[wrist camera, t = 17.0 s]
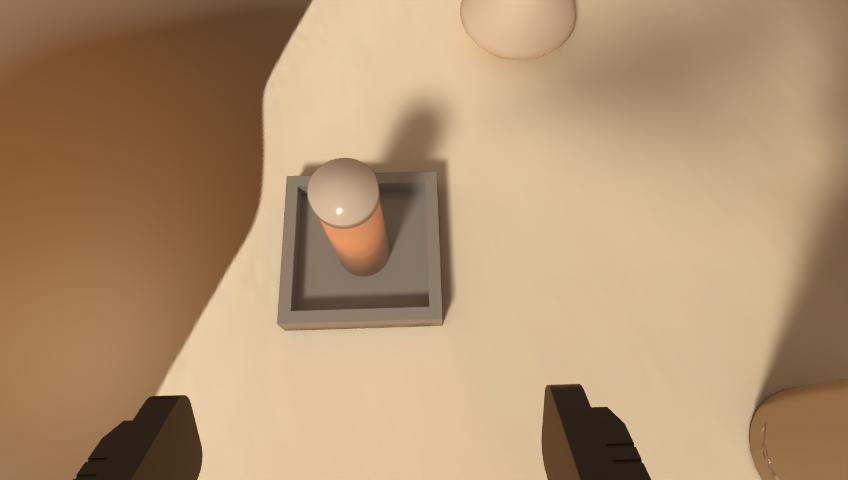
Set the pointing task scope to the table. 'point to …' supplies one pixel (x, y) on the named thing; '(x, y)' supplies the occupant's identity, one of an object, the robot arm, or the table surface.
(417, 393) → the table surface
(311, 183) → the shaker
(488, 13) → the flower in vase
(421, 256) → the tray
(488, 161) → the table surface
